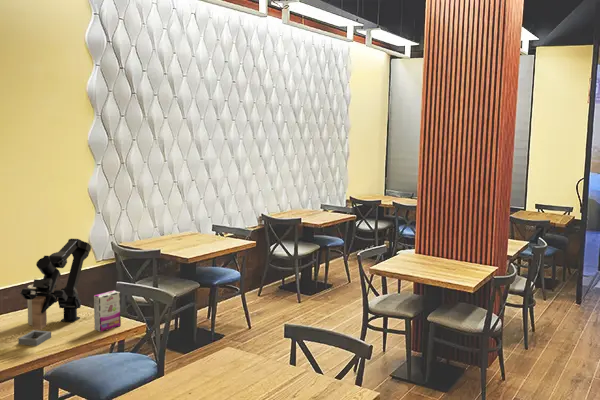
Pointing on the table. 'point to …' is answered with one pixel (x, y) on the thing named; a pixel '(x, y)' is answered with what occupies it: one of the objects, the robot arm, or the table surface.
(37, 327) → the walnut post
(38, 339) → the slotted holder
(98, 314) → the candy bar box
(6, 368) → the table surface
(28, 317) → the travel mug
